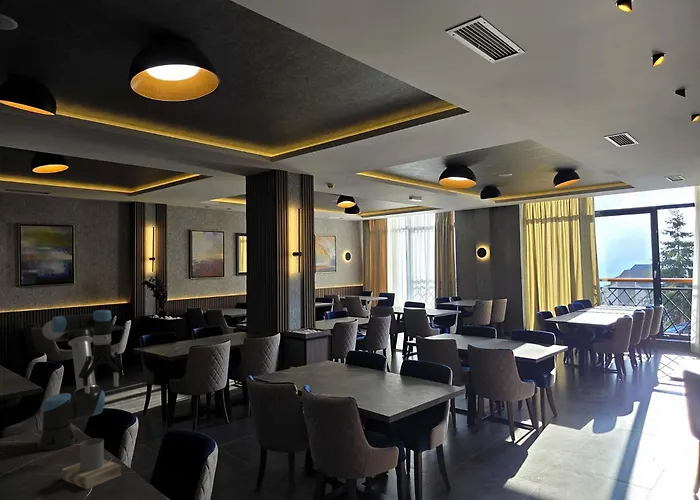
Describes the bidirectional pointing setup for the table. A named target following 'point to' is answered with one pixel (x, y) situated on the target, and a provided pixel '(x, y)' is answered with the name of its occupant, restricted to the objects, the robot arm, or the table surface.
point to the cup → (91, 454)
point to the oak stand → (91, 474)
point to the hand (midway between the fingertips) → (102, 389)
